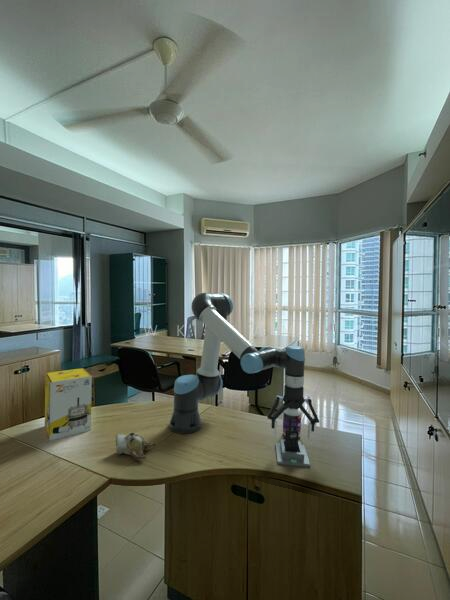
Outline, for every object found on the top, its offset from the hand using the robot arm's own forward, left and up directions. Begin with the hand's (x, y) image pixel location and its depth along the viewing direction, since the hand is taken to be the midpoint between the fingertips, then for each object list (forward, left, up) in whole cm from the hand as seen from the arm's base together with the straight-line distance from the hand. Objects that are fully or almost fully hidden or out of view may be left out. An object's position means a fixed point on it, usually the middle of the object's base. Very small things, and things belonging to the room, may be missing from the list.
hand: (292, 437), depth 115 cm
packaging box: (-101, +6, -8) cm, 101 cm away
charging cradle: (0, 0, -7) cm, 7 cm away
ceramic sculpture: (-63, -9, -8) cm, 64 cm away
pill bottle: (+2, +17, -7) cm, 19 cm away
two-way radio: (0, 0, -6) cm, 6 cm away
